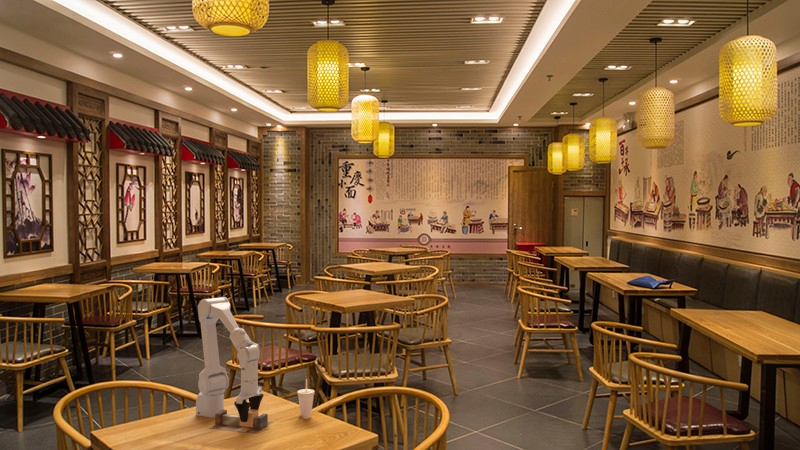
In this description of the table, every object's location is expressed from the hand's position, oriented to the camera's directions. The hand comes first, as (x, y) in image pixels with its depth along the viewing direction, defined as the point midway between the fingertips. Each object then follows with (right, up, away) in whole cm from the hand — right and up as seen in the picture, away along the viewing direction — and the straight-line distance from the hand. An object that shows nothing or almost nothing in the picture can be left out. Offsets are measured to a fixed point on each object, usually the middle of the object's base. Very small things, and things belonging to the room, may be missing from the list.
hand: (249, 418), depth 211 cm
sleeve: (0, -3, 0) cm, 3 cm away
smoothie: (+18, -4, +13) cm, 22 cm away
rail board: (-3, -4, +1) cm, 5 cm away
